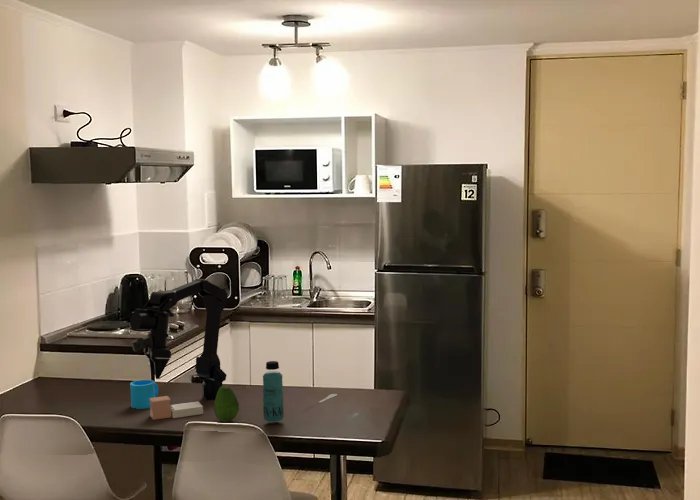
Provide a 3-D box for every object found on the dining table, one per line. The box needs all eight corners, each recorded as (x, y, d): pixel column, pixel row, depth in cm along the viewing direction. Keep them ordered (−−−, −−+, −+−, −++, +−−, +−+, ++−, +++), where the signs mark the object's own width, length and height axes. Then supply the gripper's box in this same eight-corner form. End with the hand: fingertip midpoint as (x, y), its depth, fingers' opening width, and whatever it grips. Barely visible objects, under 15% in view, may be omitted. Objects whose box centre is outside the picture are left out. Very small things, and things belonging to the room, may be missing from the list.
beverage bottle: (263, 420, 258) (261, 359, 256) (284, 419, 259) (282, 358, 257) (263, 427, 252) (261, 364, 250) (284, 425, 252) (282, 363, 250)
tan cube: (168, 413, 269) (167, 395, 269) (171, 417, 265) (170, 399, 264) (150, 415, 267) (149, 398, 266) (152, 419, 262) (151, 401, 262)
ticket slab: (198, 408, 274) (198, 401, 274) (203, 413, 268) (202, 406, 268) (169, 412, 270) (168, 405, 270) (173, 418, 264) (172, 410, 264)
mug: (144, 410, 274) (143, 386, 274) (126, 407, 278) (125, 384, 277) (167, 400, 285) (166, 378, 284) (149, 398, 289) (148, 376, 288)
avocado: (212, 425, 255) (210, 388, 253) (217, 418, 262) (215, 382, 261) (237, 425, 254) (235, 388, 253) (241, 417, 262) (240, 381, 261)
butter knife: (339, 394, 287) (332, 393, 288) (304, 412, 266) (297, 411, 267) (339, 395, 287) (332, 394, 288) (304, 413, 266) (297, 412, 267)
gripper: (130, 326, 272) (126, 372, 271) (138, 331, 255) (133, 380, 254) (163, 328, 276) (159, 373, 275) (173, 332, 259) (169, 381, 258)
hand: (155, 377), depth 265 cm, fingers open, 9 cm apart
